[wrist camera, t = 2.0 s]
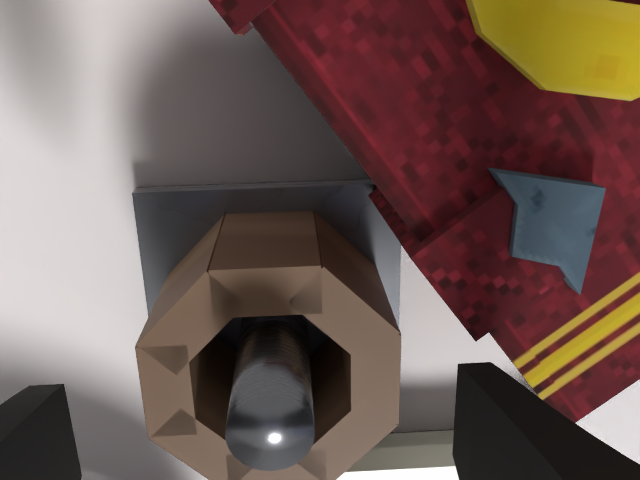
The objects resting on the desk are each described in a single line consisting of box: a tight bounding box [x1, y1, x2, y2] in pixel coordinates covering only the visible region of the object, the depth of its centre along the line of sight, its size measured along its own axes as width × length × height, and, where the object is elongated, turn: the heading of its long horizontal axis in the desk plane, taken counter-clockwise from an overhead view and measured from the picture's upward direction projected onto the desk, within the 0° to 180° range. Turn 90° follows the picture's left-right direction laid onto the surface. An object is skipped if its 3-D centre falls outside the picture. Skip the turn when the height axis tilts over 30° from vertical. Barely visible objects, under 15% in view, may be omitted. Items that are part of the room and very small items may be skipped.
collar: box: [135, 211, 401, 480], centre depth 14 cm, size 5×5×4 cm
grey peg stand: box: [132, 179, 401, 471], centre depth 14 cm, size 6×6×6 cm
